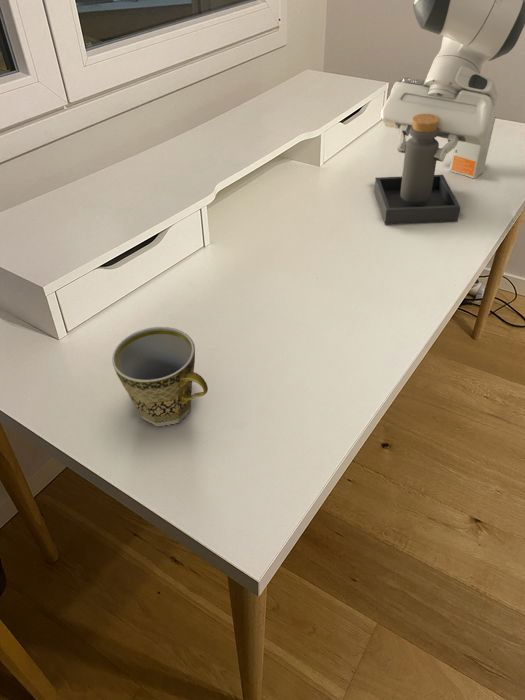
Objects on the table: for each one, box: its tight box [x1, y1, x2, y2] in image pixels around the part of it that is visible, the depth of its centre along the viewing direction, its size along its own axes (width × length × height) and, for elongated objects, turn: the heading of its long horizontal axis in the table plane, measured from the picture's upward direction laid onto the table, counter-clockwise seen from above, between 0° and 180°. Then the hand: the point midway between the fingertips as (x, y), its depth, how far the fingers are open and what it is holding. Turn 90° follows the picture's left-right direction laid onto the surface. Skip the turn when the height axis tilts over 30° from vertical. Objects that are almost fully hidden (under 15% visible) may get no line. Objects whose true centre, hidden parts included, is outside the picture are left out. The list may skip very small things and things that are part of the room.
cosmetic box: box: [449, 115, 496, 180], centre depth 121 cm, size 6×4×12 cm
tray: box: [374, 174, 461, 226], centre depth 114 cm, size 14×14×3 cm
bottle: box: [400, 114, 440, 203], centre depth 109 cm, size 6×6×15 cm
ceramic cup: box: [111, 326, 209, 427], centre depth 73 cm, size 13×10×10 cm
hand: (419, 155), depth 108 cm, fingers closed on bottle, 6 cm apart
